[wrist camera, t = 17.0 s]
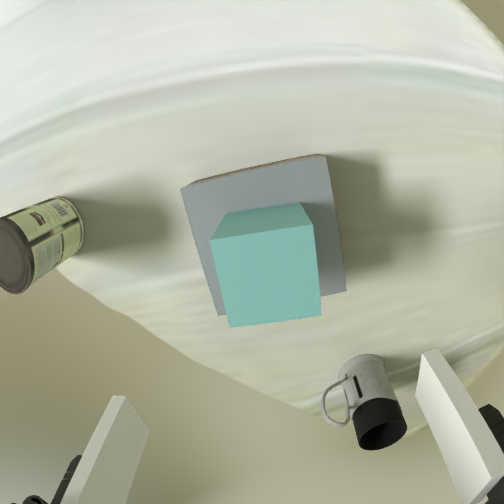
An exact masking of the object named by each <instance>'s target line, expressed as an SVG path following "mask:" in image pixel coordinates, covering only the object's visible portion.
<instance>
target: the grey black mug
mask: <svg viewBox="0 0 504 504" xmlns="http://www.w3.org/2000/svg"><path fill="white" fill-rule="evenodd" d="M338 381H339V382H337V383H335V384H333V385H332V386H330V387H329V388H327V389H326V391H325V392H324V394H323V397H322V400H321V412H322V415H323V417H324V419H325V420H326V421H327V422H328V423H330V424H331V425H334V426H337V427H341V426H344V425H346V424H347V423H348V422H349V420H350V416H351V420H352V422H353V424H354V427H355V431H356V435H357V439H358V443H359V446H360V447H361V448H362V449H365V450H378V449H382V448H385V447H388V446H390V445H392V444H394V443H395V442H397V441H398V440H399V439H401V438H402V437H403V435H404V434H405V433H406V430H407V425H406V422H405V420H404V417H403V415H402V410H401V407H400V405H399V402H398V400H397V398H396V395H395V393H394V391H393V388H392V386H391V384H390V382H389V379H388V377H387V375H386V373H385V371H384V362H383V360H382V359H381V358H380V357H378V356H376V355H373V354H364V355H359V356H357V357H354V358H352V359H350V360H349V361H348V362H346V363H345V364H344V365H343V366H342V368H341V369H340V371H339V374H338ZM338 385H341V386H342V387H343V390H344V393H345V397H346V401H347V405H348V407H347V408H346V410H345V413H346V421H345V422H344V423H339V422H336V421H333V420H332V419H331V418H329V416H328V415H327V413H326V410H325V397H326V395H327V393H328V391H329V390H331V389H332V388H334V387H336V386H338Z"/></svg>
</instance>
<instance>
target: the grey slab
mask: <svg viewBox="0 0 504 504" xmlns="http://www.w3.org/2000/svg"><path fill="white" fill-rule="evenodd" d="M180 190H181V194H182V198H183V201H184V205H185V208H186V212H187V215H188V219H189V223H190V226H191V229H192V233H193V236H194V240H195V243H196V247H197V250H198V253H199V257H200V260H201V263H202V266H203V270H204V273H205V276H206V279H207V283H208V286H209V289H210V292H211V295H212V298H213V301H214V305H215V308H216V311H217V314H218V316H220V315H226V310H225V306H224V302H223V297H222V293H221V289H220V284H219V280H218V276H217V271H216V267H215V262H214V258H213V253H212V249H211V244H210V239H211V237H212V235H213V234H214V232H215V230H216V229H217V227H218V225H219V224H220V222H221V221H222V219H223V217H224V216H225V214H226V213H232V212H238V211H244V210H251V209H257V208H263V207H270V206H277V205H283V204H290V203H297V202H300V204H301V206H302V207H303V209H304V211H305V212H306V214H307V216H308V217H309V219H310V221H311V222H312V224H313V230H314V239H315V248H316V257H317V267H318V278H319V289H320V297H321V296H326V295H330V294H335V293H340V292H344V291H347V290H346V281H345V272H344V264H343V256H342V249H341V242H340V235H339V228H338V222H337V215H336V209H335V203H334V197H333V192H332V186H331V181H330V175H329V170H328V165H327V160H326V156H321V155H317V156H312V157H307V158H301V159H296V160H291V161H286V162H281V163H276V164H272V165H267V166H262V167H258V168H253V169H249V170H245V171H240V172H236V173H232V174H228V175H224V176H220V177H216V178H212V179H208V180H204V181H200V182H196V183H192V184H189V185H187V186H185V187H183V188H181V189H180Z"/></svg>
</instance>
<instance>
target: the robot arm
mask: <svg viewBox="0 0 504 504" xmlns="http://www.w3.org/2000/svg"><path fill="white" fill-rule="evenodd" d="M415 397H416V399H417V401H418V403H419V405H420V407H421V409H422V411H423V413H424V416H425V418H426V420H427V422H428V424H429V426H430V429H431V431H432V433H433V435H434V437H435V439H436V442H437V444H438V446H439V449H440V451H441V453H442V456H443V458H444V460H445V463H446V465H447V468H448V470H449V472H450V475H451V477H452V480H453V482H454V485H455V488H456V490H457V493H458V495H459V498H460V501H461V503H462V504H476V503H478V502H480V501H481V500H482V499H483V498H484V497H485V496H486V495H487V497H488V499H489V500H488V501H487V502H486V503H485V504H504V418H503V416H502V415H501V413H500V412H499V411H498V410H497V409H496V408H494V407H493V406H492V405H490V404H488V405H486V406H484V407H482V408H480V409H477V407H476V405H475V404H474V402H473V400H472V399H471V397H470V396H469V394H468V393H467V391H466V390H465V388H464V386H463V385H462V383H461V382H460V380H459V379H458V377H457V376H456V374H455V373H454V371H453V370H452V368H451V367H450V365H449V364H448V363H447V361H446V360H445V358H444V357H443V355H442V354H441V352H440V351H439V350H438V348H436V349H433V350H430V351H426V352H423V353H422V357H421V364H420V371H419V377H418V383H417V389H416V394H415ZM148 435H149V430H148V429H147V428H146V426H145V425H144V423H143V422H142V420H141V419H140V417H139V416H138V414H137V413H136V411H135V410H134V408H133V407H132V405H131V403H130V402H129V400H128V399H127V397H126V396H113V397H112V398H111V400H110V402H109V404H108V406H107V408H106V410H105V412H104V414H103V416H102V418H101V420H100V422H99V424H98V425H97V427H96V429H95V431H94V434H93V436H92V437H91V440H90V442H89V443H88V446H87V448H86V450H85V452H84V454H83V456H81V455H77V457H75V458H74V459H73V460H72V461H71V463H70V465H69V467H68V469H67V473H65V475H64V477H63V478H64V479H63V480H62V481H61V483H60V486H59V488H58V490H57V492H56V494H55V496H54V498H53V500H52V502H51V504H125V502H126V500H127V496H128V493H129V490H130V487H131V484H132V481H133V478H134V475H135V473H136V470H137V466H138V464H139V461H140V458H141V455H142V452H143V449H144V446H145V443H146V441H147V438H148ZM12 504H16V503H12ZM23 504H48V503H47V502H45V501H44V500H43V499H42V498H40V497H39V496H36V495H32V496H29V497H27V498H26V499H25V500H24V502H23Z"/></svg>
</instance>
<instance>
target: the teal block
mask: <svg viewBox="0 0 504 504" xmlns="http://www.w3.org/2000/svg"><path fill="white" fill-rule="evenodd" d="M210 244H211V249H212V253H213V258H214V262H215V267H216V271H217V276H218V280H219V284H220V289H221V293H222V297H223V302H224V306H225V310H226V314H227V318H228V322H229V327H238V326H247V325H255V324H264V323H271V322H279V321H286V320H294V319H301V318H307V317H314V316H320V315H322V313H321V301H320V289H319V278H318V267H317V257H316V248H315V239H314V230H313V224H312V222H311V221H310V219H309V217H308V216H307V214H306V212H305V211H304V209H303V207H302V206H301V204H300V202H297V203H290V204H283V205H277V206H270V207H263V208H257V209H251V210H244V211H238V212H232V213H226V214H225V216H224V217H223V219H222V221H221V222H220V224H219V225H218V227H217V229H216V230H215V232H214V234H213V235H212V237H211V239H210Z"/></svg>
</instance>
